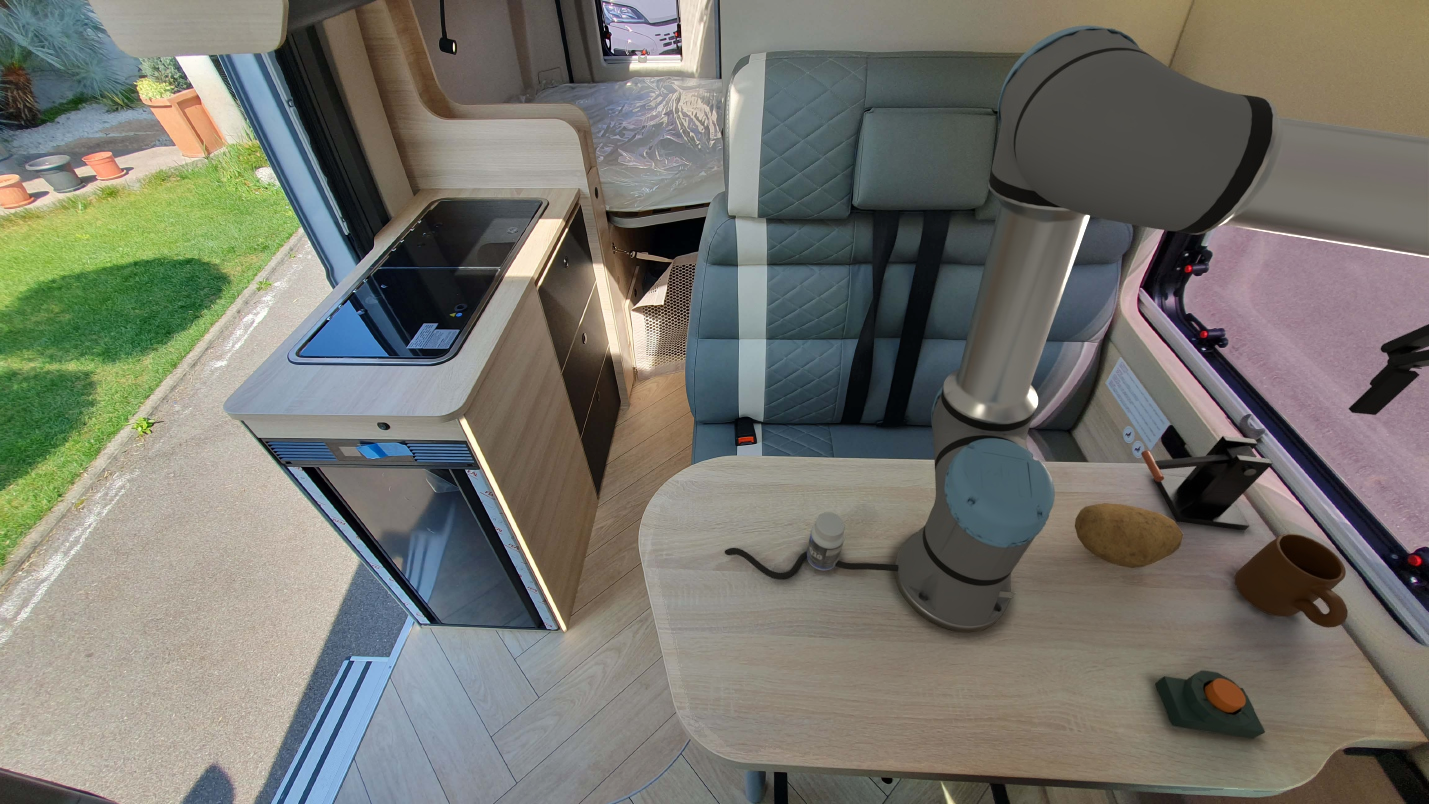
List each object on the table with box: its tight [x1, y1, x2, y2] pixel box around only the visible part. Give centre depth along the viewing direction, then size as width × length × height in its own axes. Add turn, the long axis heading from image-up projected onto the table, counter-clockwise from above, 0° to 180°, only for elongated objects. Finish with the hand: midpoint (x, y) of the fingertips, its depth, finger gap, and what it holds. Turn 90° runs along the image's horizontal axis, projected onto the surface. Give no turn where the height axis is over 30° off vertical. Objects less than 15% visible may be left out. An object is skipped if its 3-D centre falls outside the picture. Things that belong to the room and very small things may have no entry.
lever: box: [1140, 446, 1258, 482], centre depth 88 cm, size 13×6×2 cm, turn 81°
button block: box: [1154, 669, 1266, 740], centre depth 69 cm, size 9×6×4 cm
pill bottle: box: [806, 511, 846, 571], centre depth 82 cm, size 5×5×8 cm
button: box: [1205, 679, 1246, 713], centre depth 67 cm, size 3×3×2 cm
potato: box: [1074, 502, 1184, 569], centre depth 84 cm, size 10×14×8 cm
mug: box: [1234, 533, 1349, 629], centre depth 77 cm, size 12×8×9 cm, turn 172°
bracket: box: [1152, 435, 1273, 531], centre depth 89 cm, size 10×9×13 cm
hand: (1402, 451), depth 67 cm, fingers open, 13 cm apart
